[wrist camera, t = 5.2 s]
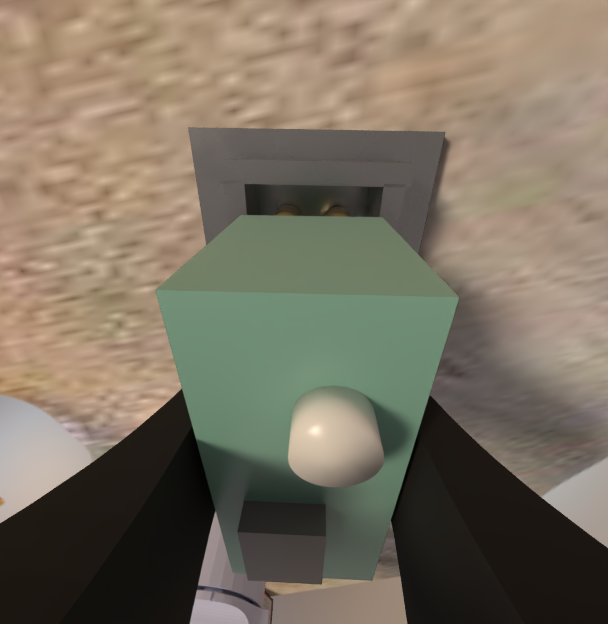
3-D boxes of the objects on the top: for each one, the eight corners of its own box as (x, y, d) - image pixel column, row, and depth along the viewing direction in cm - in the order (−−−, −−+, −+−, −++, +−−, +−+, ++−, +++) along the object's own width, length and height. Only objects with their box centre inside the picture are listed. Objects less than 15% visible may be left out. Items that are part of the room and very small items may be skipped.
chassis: (388, 374, 20) (402, 415, 17) (228, 368, 20) (212, 408, 17) (440, 132, 13) (479, 127, 10) (193, 128, 13) (156, 122, 10)
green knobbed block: (352, 430, 13) (377, 620, 7) (261, 427, 13) (224, 612, 8) (382, 217, 8) (492, 331, 3) (240, 215, 8) (120, 321, 3)
